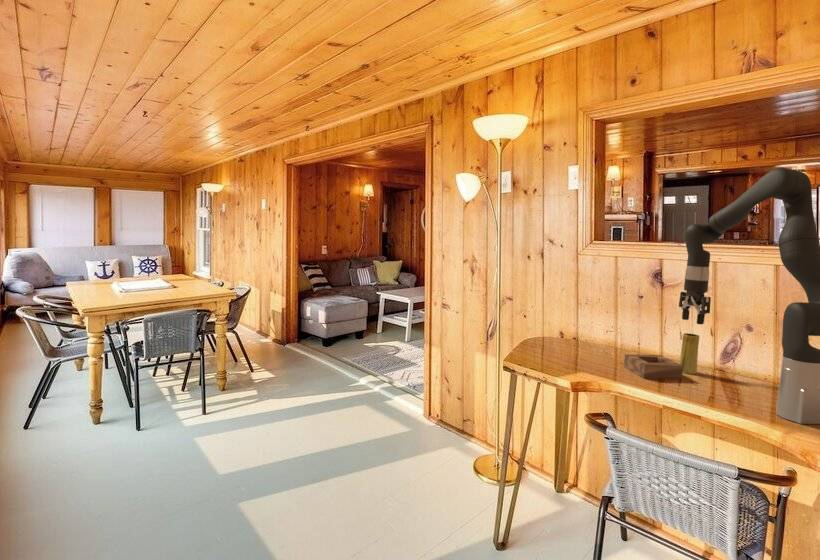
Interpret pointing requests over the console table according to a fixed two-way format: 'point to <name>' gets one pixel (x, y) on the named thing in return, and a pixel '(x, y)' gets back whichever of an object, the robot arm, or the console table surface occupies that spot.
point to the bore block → (653, 366)
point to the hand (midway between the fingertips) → (692, 321)
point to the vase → (689, 353)
